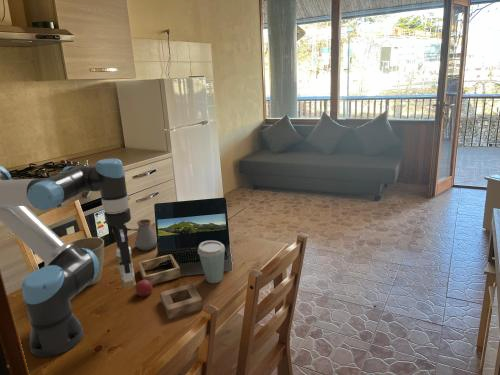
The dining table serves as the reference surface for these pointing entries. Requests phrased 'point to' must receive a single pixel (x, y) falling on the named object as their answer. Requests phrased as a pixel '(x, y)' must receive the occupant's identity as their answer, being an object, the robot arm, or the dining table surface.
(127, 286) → the sprinkles bottle
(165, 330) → the dining table surface
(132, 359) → the dining table surface
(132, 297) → the dining table surface
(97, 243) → the plant pot
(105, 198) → the robot arm
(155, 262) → the open square frame
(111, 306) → the dining table surface
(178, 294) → the collar block
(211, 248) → the disposable coffee cup
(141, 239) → the coffee pot
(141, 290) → the fruit
